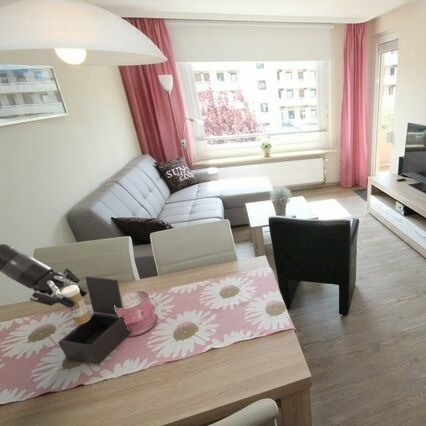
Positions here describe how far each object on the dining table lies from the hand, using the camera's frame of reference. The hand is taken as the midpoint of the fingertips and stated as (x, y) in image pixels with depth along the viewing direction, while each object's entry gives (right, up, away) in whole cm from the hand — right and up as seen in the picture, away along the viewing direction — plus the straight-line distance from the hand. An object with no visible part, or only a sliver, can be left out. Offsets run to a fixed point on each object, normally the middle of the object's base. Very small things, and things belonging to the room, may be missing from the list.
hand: (79, 299), depth 96 cm
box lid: (0, -2, +11) cm, 11 cm away
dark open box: (-1, -20, +10) cm, 22 cm away
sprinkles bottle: (-2, -8, +4) cm, 9 cm away
